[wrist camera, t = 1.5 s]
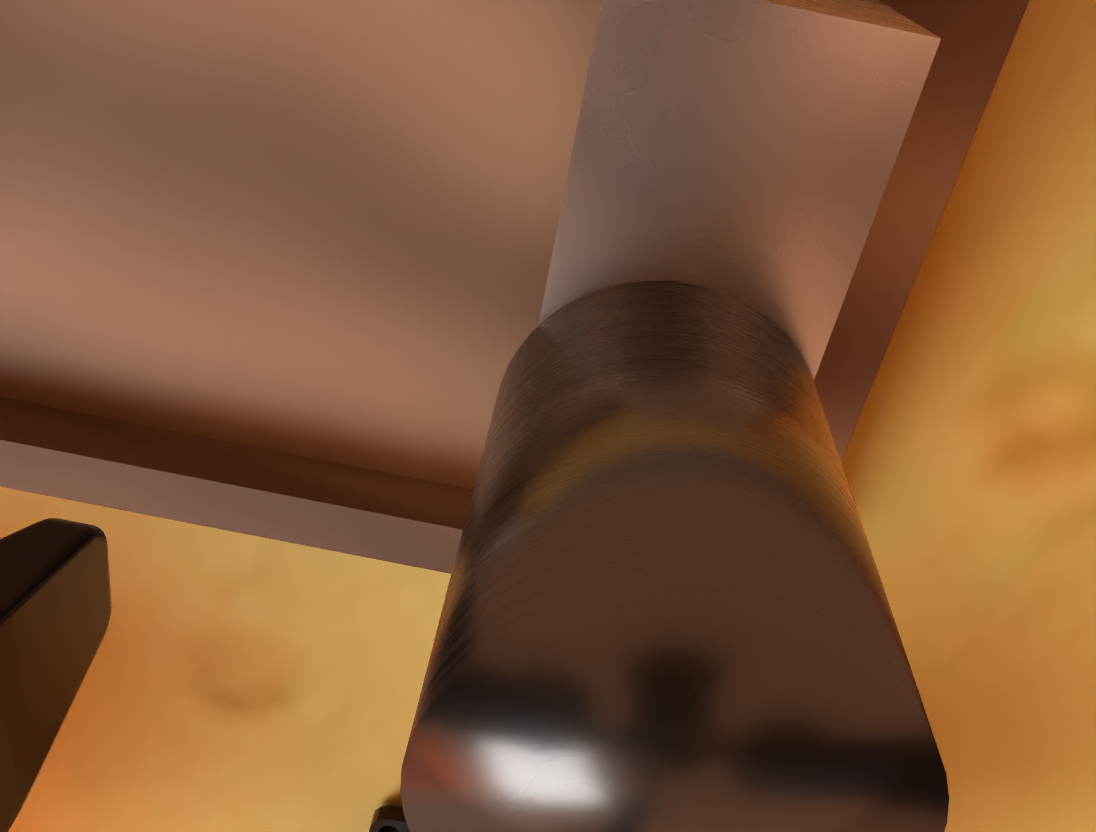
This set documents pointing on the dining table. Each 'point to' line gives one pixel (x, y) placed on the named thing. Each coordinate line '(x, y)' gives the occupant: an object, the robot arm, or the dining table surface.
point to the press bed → (336, 248)
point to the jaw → (688, 461)
